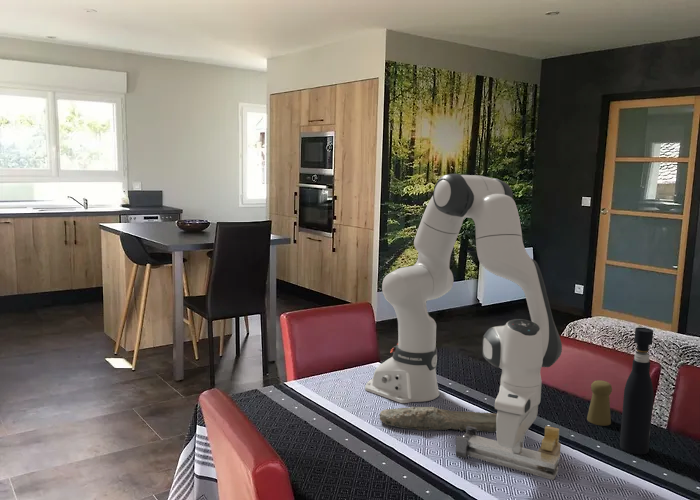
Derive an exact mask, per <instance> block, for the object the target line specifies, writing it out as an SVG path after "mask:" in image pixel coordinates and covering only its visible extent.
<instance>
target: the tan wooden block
mask: <svg viewBox="0 0 700 500" xmlns="http://www.w3.org/2000/svg"><path fill="white" fill-rule="evenodd" d="M561 446H562V443H561V442H559V443H558V445H556V446H555V447H554V449H553V451H552V452H551V451H547V450H543V449H541V446H540V447H539V448H538V450H537V451H538V452H541V453H545V454H549V455H553V456H557V457H559V459H560V458H561Z"/></svg>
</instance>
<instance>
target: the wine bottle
mask: <svg viewBox="0 0 700 500" xmlns="http://www.w3.org/2000/svg"><path fill="white" fill-rule="evenodd" d="M653 339H654V330H653V329H652V328H648V327H642V326H641V327H636V328H634V340H633V341H634V343H635V344H636V351H635V352H634V356H633V359H632V364H631V365H632V366H631V372H630V373H629V376H627V377H628V378H627V379H626V382H625V386H624V389H623V398H622V399H623V403H622V411H621V412H622V415H621V424H620V425H621V426H620V437H619V447H620V448H621V450H623V451H624V452H627V453H629V454H633V455H645V454H648V453H649V451H650V450H649V449H650V439H651V429H652V418H653V417H652V416H653V406H654V397H655V393H654V385H653V382H652V378H651V374H650V372H651V371H650V370H651V361H650V360H651V359H650V358H651V356H650V353H649V352H650V351H649V348H650V347H649V346H651V345H653Z"/></svg>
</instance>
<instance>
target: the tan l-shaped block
mask: <svg viewBox="0 0 700 500" xmlns="http://www.w3.org/2000/svg"><path fill="white" fill-rule="evenodd" d="M559 441H560V428H557V427H553V426H549V425H545V426H544V437H543V438H542V440H541V445H540V447H541V449H543V450H547V451H551V452H552V451H553V449H554V447H555V446H556V445H558V443H560V442H559Z"/></svg>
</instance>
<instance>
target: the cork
mask: <svg viewBox="0 0 700 500" xmlns="http://www.w3.org/2000/svg"><path fill="white" fill-rule="evenodd" d="M590 388H591V390H590V391H591V392H592V393H591V395H592V396H591V398H590V399H591V400H590V402H589V403H590V404H589V408H588V412H587V416H586V420H587V422H589V423H591V424H593V425H597V426H600V427H601V426H603V427H605V426H610V425H611V424H612V419H611V418H612V416H611V404H610V402H611V401H610V395H611V394H612V391H613V388H612V384H611V383H610V382H608V381H605V380H600V379H598V380H593V381H592V383H591V385H590Z"/></svg>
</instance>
